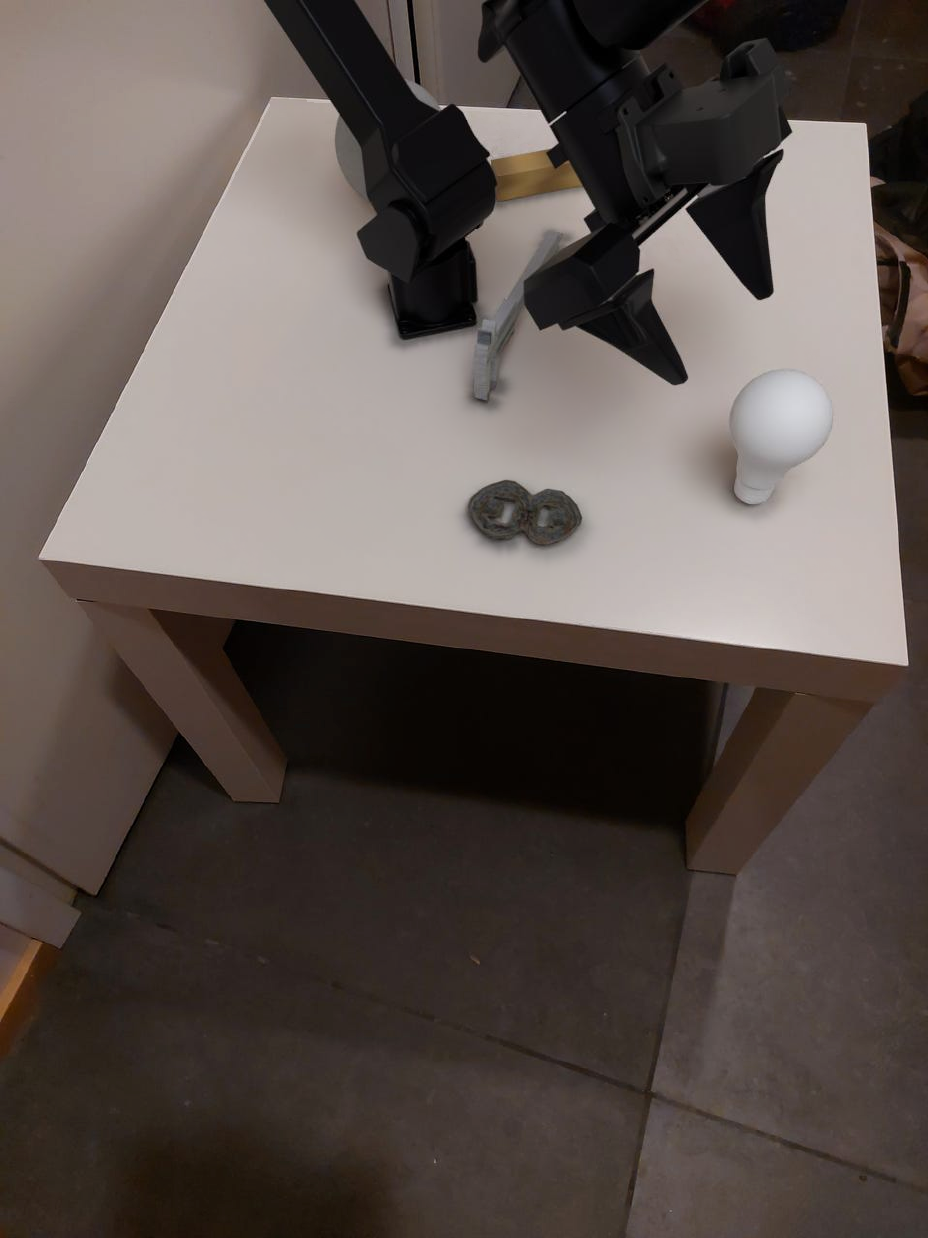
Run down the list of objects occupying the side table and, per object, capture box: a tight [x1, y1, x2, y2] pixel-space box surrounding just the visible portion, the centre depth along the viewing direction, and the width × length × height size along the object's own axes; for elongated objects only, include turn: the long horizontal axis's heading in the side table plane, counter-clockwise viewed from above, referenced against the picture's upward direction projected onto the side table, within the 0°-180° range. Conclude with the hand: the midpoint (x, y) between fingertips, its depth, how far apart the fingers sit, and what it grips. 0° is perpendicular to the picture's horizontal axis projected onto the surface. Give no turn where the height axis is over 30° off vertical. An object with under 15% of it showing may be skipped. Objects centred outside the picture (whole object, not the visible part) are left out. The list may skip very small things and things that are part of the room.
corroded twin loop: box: [467, 479, 583, 546], centre depth 59 cm, size 5×8×1 cm, turn 76°
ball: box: [334, 78, 442, 203], centre depth 74 cm, size 10×10×10 cm
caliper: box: [472, 230, 564, 401], centre depth 67 cm, size 20×1×6 cm, turn 160°
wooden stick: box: [490, 148, 583, 202], centre depth 77 cm, size 11×2×2 cm, turn 102°
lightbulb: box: [728, 368, 834, 505], centre depth 55 cm, size 6×6×11 cm
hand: (725, 338), depth 51 cm, fingers open, 9 cm apart
